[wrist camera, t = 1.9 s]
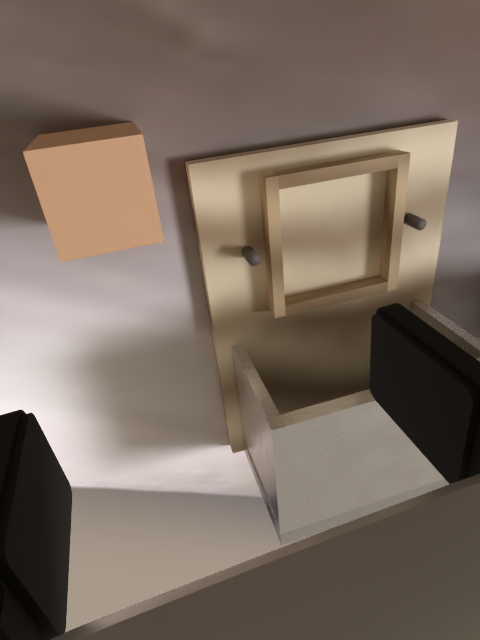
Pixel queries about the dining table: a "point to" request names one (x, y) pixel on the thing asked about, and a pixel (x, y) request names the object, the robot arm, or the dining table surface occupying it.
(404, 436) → the cover
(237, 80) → the dining table surface
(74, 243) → the jaw block
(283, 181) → the housing base
